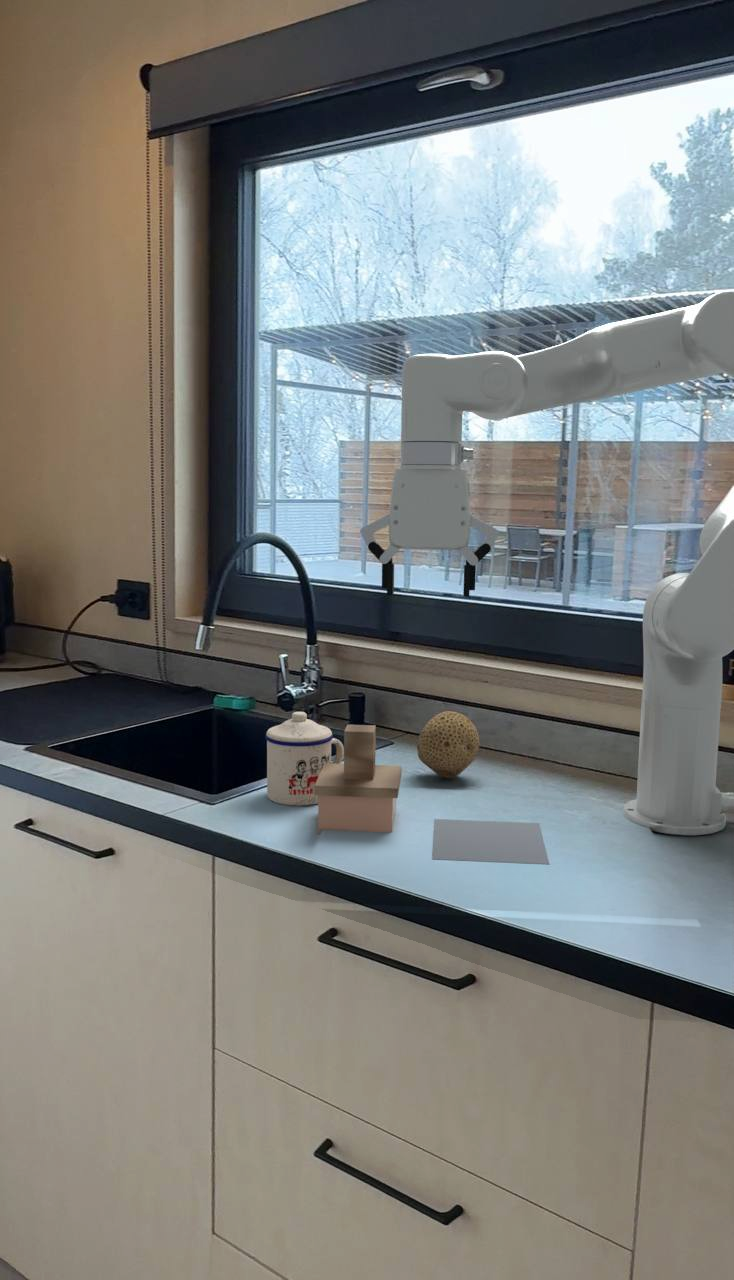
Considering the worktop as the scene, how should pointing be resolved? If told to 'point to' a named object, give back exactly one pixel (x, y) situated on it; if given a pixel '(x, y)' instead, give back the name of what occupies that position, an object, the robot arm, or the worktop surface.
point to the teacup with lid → (298, 759)
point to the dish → (356, 813)
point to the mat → (488, 841)
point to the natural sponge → (448, 744)
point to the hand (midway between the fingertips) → (428, 595)
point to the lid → (359, 769)
